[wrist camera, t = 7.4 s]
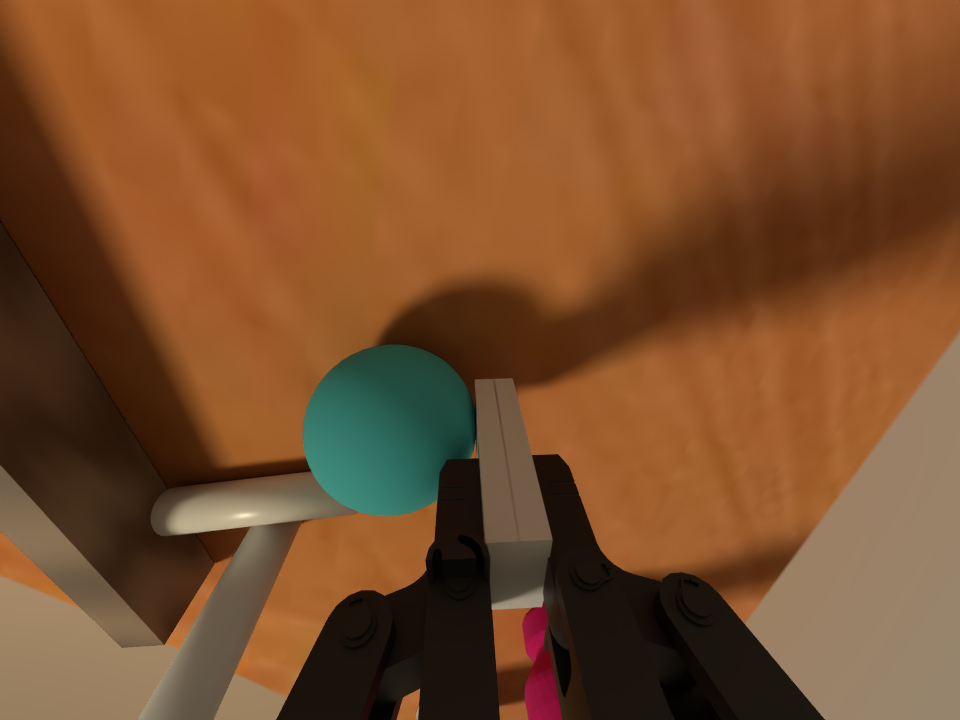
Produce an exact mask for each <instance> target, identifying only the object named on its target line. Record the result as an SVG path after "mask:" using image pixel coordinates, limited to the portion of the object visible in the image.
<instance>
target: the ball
mask: <svg viewBox="0 0 960 720" xmlns="http://www.w3.org/2000/svg"><path fill="white" fill-rule="evenodd" d="M475 440H476V412H475V408H474V404H473V400H472V397H471V395H470V393H469V391H468V389H467V387H466V385H465V383H464V382H463V380H462V379H461V377H460V376H459V375H458V373H457V372H456V371H455V370H454V369H453V368H452V367H451V366H450V365H449V364H447V363H446V362H445V361H443V360H442V359H441V358H439V357H437V356H436V355H434V354H432V353H430V352H428V351H425V350H423V349H420V348H417V347H412V346H408V345H398V344H397V345H382V346H375V347H371V348H368V349H364V350H362V351H359V352H357V353H355V354H352V355H351V356H349V357H347V358H346V359H344V360H342V361H341V362H340V363H338V364H337V365H336V366H335V367H333V368H332V369H331V370H330V371H329V372H328V373H327V374H326V375H325V377H324V378H323V379H322V380H321V382H320V383H319V384H318V386H317V388H316V389H315V391H314V393H313V394H312V396H311V399H310V401H309V404H308V406H307V409H306V413H305V417H304V423H303V445H304V451H305V456H306V459H307V462H308V465H309V467H310V469H311V471H312V473H313V475H314V477H315V478H316V480H317V481H318V483H319V484H320V486H321V487H322V488H323V489H324V490H325V491H326V492H327V493H328V494H329V495H330V496H331V497H332V498H334V499H335V500H336V501H338V502H339V503H341V504H343V505H344V506H346V507H348V508H350V509H352V510H355V511H358V512H361V513H365V514H370V515H376V516H396V515H402V514H407V513H411V512H414V511H417V510H419V509H422V508H424V507H426V506H428V505H430V504H432V503H433V502H435V501H436V500H437V499H438V485H439V472H440V471H441V469H442V467H443V466H444V464H445V462H446V460H448V459H470V458H471V455H472V453H473V449H474V445H475Z"/></svg>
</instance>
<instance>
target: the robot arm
mask: <svg viewBox="0 0 960 720" xmlns="http://www.w3.org/2000/svg"><path fill="white" fill-rule="evenodd" d="M475 412H476V452H477V458H474V459H448V460H446V462H445V464H444V466H443V467H442V469H441V471H440V472H439V485H438V499H437V513H436V528H435V541H434V542H433V544H432V545H431V546H430V548H429V550H428V553H427V557H426V560H425V561H426V568H427V570H426V572H425V573H424V574H423V576H422V577H420V578H419V579H418V580H417V581H416V582H414V583H413V584H411V585H409V586H407V587H405V588H403V589H400V590H398V591H395V592H393V593H391V594H388V595H386V596H384V595H382V594H380V593H378V592H376V591H374V590H361V591H359V592H356V593H354V594H351V595H349V596H348V597H346V598H345V599H344V600H343V601H342V602H340V603H339V604H338V605H337V606H336V607H335V609H334V610H333V612H332V613H331V614H330V616H329V617H328V619H327V621H326V623H325V625H324V627H323V629H322V631H321V633H320V635H319V637H318V639H317V641H316V642H315V644H314V646H313V648H312V650H311V652H310V654H309V656H308V658H307V660H306V662H305V664H304V666H303V668H302V670H301V672H300V674H299V676H298V678H297V680H296V682H295V684H294V686H293V688H292V690H291V692H290V694H289V696H288V698H287V700H286V701H285V703H284V705H283V707H282V710H281V711H280V713H279V716H278V717H277V719H276V720H396V719H397V716H398V712H399V709H400V706H401V702H402V699H403V697H405V696H406V695H408V694H410V693H412V692H414V691H416V690H418V689H420V700H419V713H418V720H500V716H499V702H498V688H497V674H496V660H495V645H494V631H493V617H492V610H499V609H516V608H533V607H542V605H543V598H544V602H545V607H546V612H547V617H548V619H547V625H546V630H545V636H544V651H549V650H550V656H551V661H552V667H553V672H554V678H555V683H556V688H557V694H558V699H559V705H560V710H561V716H562V720H825V719H824V718H823V717H822V716H821V715H820V713H819V712H818V711H817V710H816V709H815V707H814V706H813V705H812V704H811V703H810V701H808V699H807V698H806V697H805V696H804V694H803V693H802V692H801V691H800V690H799V688H798V687H797V686H796V685H795V684H794V682H793V681H791V679H790V678H789V677H788V675H787V674H786V673H785V672H784V671H783V669H781V667H780V666H779V665H778V663H777V662H776V661H775V660H774V659H773V658H772V656H771V655H770V654H769V653H768V651H767V650H766V649H765V648H764V647H763V645H761V643H760V642H759V641H758V640H757V638H756V637H755V636H754V635H753V634H752V632H751V631H750V630H749V629H748V628H747V627H746V625H745V624H744V623H743V622H742V620H741V619H740V618H739V617H738V616H737V614H736V613H735V612H734V611H733V610H732V609H731V607H730V606H729V605H728V604H727V603H726V601H725V600H724V599H723V598H722V597H721V595H720V594H718V593H717V592H716V591H715V590H714V589H713V588H712V587H711V586H710V585H709V584H708V583H706V582H704V581H703V580H701V579H699V578H698V577H696V576H693V575H690V574H686V573H682V572H680V573H671V574H669V575H668V576H666V577H665V578H664V579H662V582H659V581H656V580H652V579H649V578H645V577H642V576H638V575H635V574H632V573H629V572H626V571H624V570H622V569H620V568H619V567H617V566H616V565H614V564H613V563H612V562H611V561H610V560H608V559H607V558H606V556H605V555H604V554H603V553H602V551H601V550H600V548H599V546H598V544H597V542H596V539H595V536H594V534H593V531H592V528H591V525H590V523H589V520H588V517H587V514H586V512H585V509H584V506H583V503H582V501H581V498H580V496H579V492H578V490H577V487H576V484H575V483H574V479H573V476H572V473H571V470H570V468H569V466H568V465H567V464H566V463H565V461H564V460H563V459H562V458H561V457H560V456H559V455H558V454H553V455H532V454H531V450H530V446H529V442H528V438H527V434H526V430H525V426H524V422H523V418H522V414H521V410H520V406H519V402H518V398H517V394H516V390H515V386H514V382H513V378H506V379H475Z"/></svg>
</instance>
